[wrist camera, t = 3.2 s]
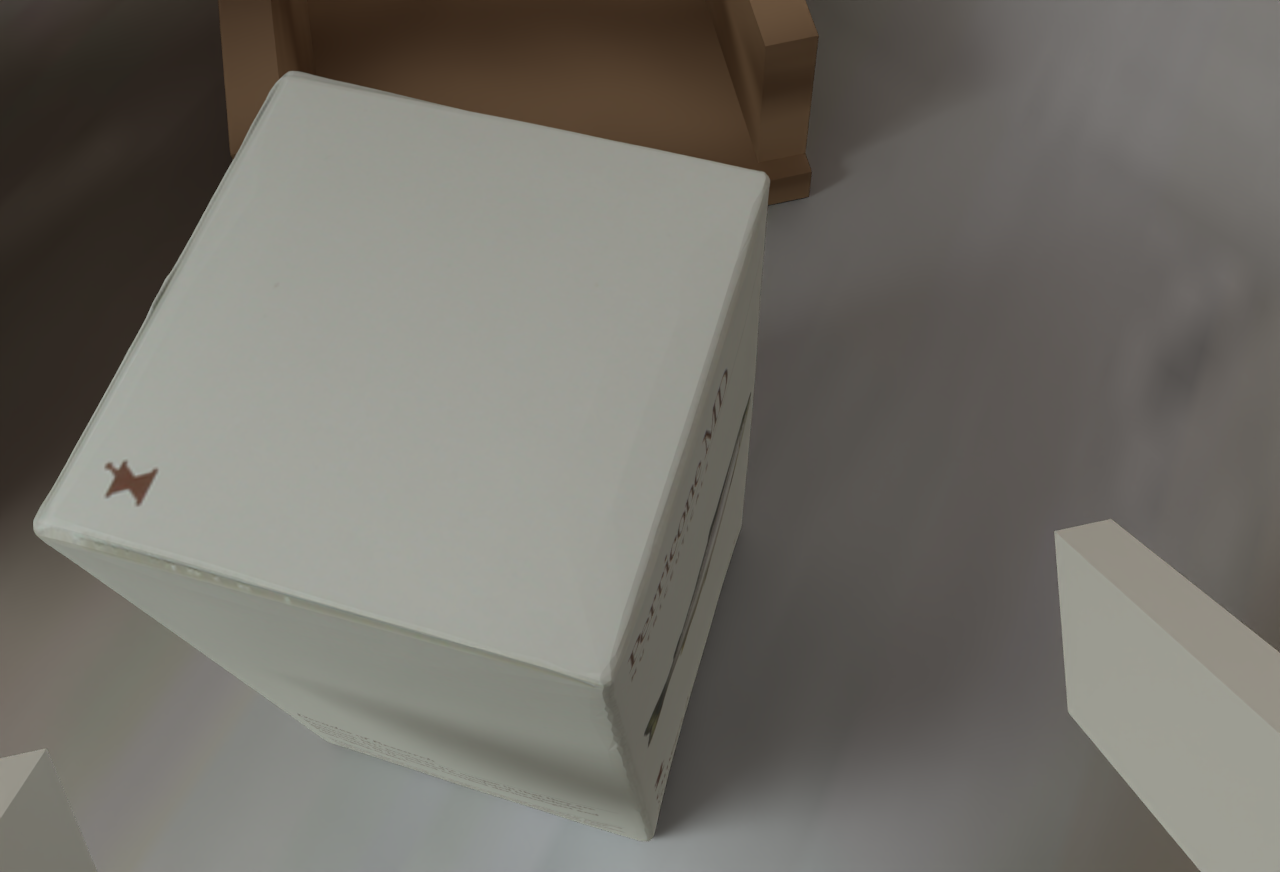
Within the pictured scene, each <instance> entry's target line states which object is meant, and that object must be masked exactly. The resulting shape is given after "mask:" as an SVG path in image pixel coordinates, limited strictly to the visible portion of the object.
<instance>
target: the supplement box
mask: <svg viewBox="0 0 1280 872" xmlns="http://www.w3.org/2000/svg"><path fill="white" fill-rule="evenodd" d="M769 187H770V178H769V177H768V175H767V174H766V173H765V172H762V171H757V170H752V169H746V168H742V167H737V166H732V165H728V164H723V163H719V162H714V161H710V160H705V159H700V158H695V157H691V156H686V155H681V154H676V153H672V152H667V151H662V150H658V149H653V148H648V147H643V146H638V145H633V144H628V143H623V142H618V141H613V140H608V139H604V138H599V137H594V136H590V135H585V134H580V133H576V132H571V131H566V130H561V129H556V128H551V127H547V126H542V125H537V124H532V123H527V122H522V121H517V120H512V119H507V118H502V117H497V116H491V115H486V114H481V113H476V112H471V111H466V110H462V109H458V108H453V107H449V106H445V105H441V104H436V103H432V102H428V101H424V100H420V99H415V98H411V97H407V96H403V95H399V94H394V93H390V92H386V91H381V90H377V89H373V88H368V87H364V86H360V85H355V84H350V83H346V82H341V81H337V80H332V79H328V78H324V77H320V76H316V75H312V74H308V73H304V72H300V71H289V72H287V73H286V74H284V75H283V76H282V77H281V78H280V79H279V80H278V81H277V82H276V83H275V84H274V86H273V87H272V89H271V90H270V92H269V94H268V96H267V98H266V100H265V102H264V104H263V105H262V107H261V109H260V111H259V112H258V114H257V116H256V118H255V119H254V121H253V123H252V125H251V127H250V129H249V131H248V133H247V135H246V137H245V139H244V141H243V143H242V145H241V147H240V149H239V151H238V152H237V154H236V156H235V158H234V159H233V161H232V163H231V165H230V166H229V168H228V170H227V172H226V173H225V175H224V177H223V179H222V181H221V182H220V184H219V186H218V188H217V190H216V191H215V193H214V195H213V197H212V199H211V201H210V202H209V204H208V206H207V208H206V210H205V212H204V213H203V215H202V217H201V219H200V221H199V223H198V225H197V226H196V228H195V230H194V232H193V234H192V236H191V237H190V239H189V241H188V243H187V245H186V246H185V248H184V250H183V252H182V254H181V255H180V257H179V259H178V261H177V262H176V264H175V266H174V268H173V269H172V271H171V272H170V274H169V275H168V276H167V278H166V279H165V281H164V283H163V285H162V287H161V289H160V290H159V292H158V294H157V296H156V298H155V299H154V301H153V303H152V306H151V308H150V310H149V312H148V315H147V317H146V319H145V321H144V323H143V325H142V326H141V328H140V330H139V332H138V334H137V336H136V338H135V339H134V341H133V343H132V345H131V346H130V348H129V350H128V352H127V353H126V355H125V357H124V359H123V361H122V363H121V365H120V367H119V369H118V370H117V372H116V374H115V376H114V378H113V380H112V381H111V383H110V385H109V387H108V389H107V391H106V392H105V394H104V396H103V398H102V400H101V401H100V403H99V405H98V407H97V409H96V410H95V412H94V414H93V416H92V418H91V419H90V421H89V423H88V425H87V426H86V428H85V430H84V432H83V434H82V435H81V437H80V439H79V441H78V442H77V444H76V446H75V448H74V450H73V452H72V453H71V455H70V457H69V459H68V461H67V463H66V465H65V466H64V468H63V470H62V472H61V474H60V475H59V477H58V479H57V481H56V482H55V484H54V486H53V488H52V489H51V491H50V492H49V494H48V496H47V497H46V499H45V500H44V502H43V503H42V505H41V506H40V508H39V510H38V512H37V514H36V516H35V518H34V520H33V529H34V532H35V534H36V535H37V536H38V537H39V538H40V539H41V540H43V541H44V542H45V543H46V544H48V545H49V546H51V547H52V548H54V549H55V550H57V551H58V552H60V553H61V554H63V555H64V556H65V557H67V558H68V559H70V560H71V561H73V562H74V563H76V564H77V565H79V566H80V567H81V568H83V569H84V570H86V571H87V572H89V573H90V574H91V575H93V576H94V577H96V578H97V579H98V580H100V581H101V582H103V583H104V584H105V585H107V586H108V587H110V588H111V589H113V590H114V591H115V592H117V593H118V594H120V595H121V596H123V597H124V598H125V599H127V600H128V601H130V602H131V603H132V604H134V605H135V606H137V607H138V608H139V609H141V610H142V611H144V612H145V613H146V614H148V615H149V616H151V617H152V618H154V619H155V620H156V621H158V622H159V623H161V624H162V625H163V626H165V627H166V628H168V629H169V630H171V631H172V632H173V633H175V634H176V635H178V636H179V637H180V638H182V639H183V640H185V641H186V642H188V643H189V644H190V645H192V646H193V647H195V648H196V649H197V650H199V651H200V652H202V653H203V654H204V655H206V656H207V657H209V658H210V659H211V660H213V661H214V662H216V663H217V664H218V665H220V666H221V667H223V668H224V669H226V670H227V671H228V672H230V673H231V674H233V675H234V676H236V677H237V678H238V679H240V680H241V681H243V682H244V683H245V684H247V685H248V686H250V687H251V688H253V689H254V690H255V691H257V692H258V693H260V694H261V695H263V696H264V697H265V698H267V699H268V700H269V701H271V702H272V703H274V704H275V705H276V706H278V707H279V708H281V709H282V710H283V711H285V712H287V713H288V714H289V715H291V716H292V717H293V718H295V719H296V720H298V721H299V722H300V723H302V724H303V725H305V726H306V727H307V728H309V729H310V730H311V731H313V732H314V733H316V734H317V735H318V736H320V737H321V738H323V739H324V740H326V741H328V742H330V743H333V744H336V745H339V746H342V747H345V748H348V749H351V750H355V751H358V752H361V753H364V754H367V755H370V756H373V757H376V758H380V759H383V760H386V761H389V762H392V763H395V764H398V765H401V766H404V767H407V768H410V769H413V770H416V771H419V772H422V773H425V774H428V775H431V776H435V777H438V778H441V779H444V780H447V781H450V782H453V783H456V784H459V785H462V786H465V787H468V788H471V789H474V790H477V791H480V792H484V793H487V794H490V795H493V796H497V797H500V798H503V799H506V800H509V801H513V802H516V803H519V804H522V805H526V806H529V807H532V808H535V809H539V810H542V811H545V812H548V813H551V814H554V815H557V816H560V817H563V818H567V819H570V820H573V821H576V822H579V823H582V824H585V825H589V826H592V827H595V828H598V829H602V830H605V831H608V832H611V833H615V834H618V835H622V836H625V837H629V838H632V839H635V840H639V841H650V840H651V839H652V838H653V837H654V834H655V830H656V825H657V821H658V817H659V812H660V808H661V804H662V799H663V795H664V791H665V787H666V783H667V779H668V775H669V771H670V767H671V763H672V759H673V756H674V752H675V749H676V745H677V741H678V738H679V734H680V731H681V727H682V723H683V720H684V716H685V712H686V709H687V706H688V702H689V699H690V695H691V692H692V688H693V685H694V681H695V678H696V675H697V671H698V668H699V664H700V661H701V658H702V654H703V651H704V647H705V644H706V641H707V637H708V634H709V630H710V627H711V623H712V620H713V616H714V613H715V609H716V606H717V602H718V599H719V595H720V592H721V588H722V585H723V582H724V579H725V576H726V572H727V569H728V566H729V563H730V560H731V557H732V554H733V551H734V548H735V545H736V542H737V539H738V536H739V533H740V530H741V527H742V519H743V505H744V496H745V486H746V474H747V466H748V454H749V443H750V431H751V421H752V410H753V398H754V386H755V375H756V359H757V343H758V327H759V310H760V295H761V284H762V270H763V259H764V248H765V232H766V219H767V207H768V196H769Z"/></svg>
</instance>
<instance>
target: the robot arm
mask: <svg viewBox="0 0 1280 872" xmlns="http://www.w3.org/2000/svg"><path fill="white" fill-rule="evenodd" d="M1054 535H1055V548H1056V561H1057V574H1058V587H1059V601H1060V614H1061V627H1062V640H1063V653H1064V666H1065V680H1066V693H1067V706H1068V713H1069V714H1070V715H1071V716H1072V717H1073V719H1074V720H1075V721H1076V722H1077V723H1078V725H1079V726H1080V727H1081V728H1082V729H1083V731H1084V732H1085V733H1086V734H1087V736H1088V737H1089V738H1090V739H1091V740H1092V742H1093V743H1094V744H1095V745H1096V746H1097V748H1098V749H1099V750H1100V751H1101V752H1102V754H1103V755H1104V756H1105V757H1106V758H1107V760H1108V761H1109V762H1110V763H1111V764H1112V766H1113V767H1114V768H1115V769H1116V770H1117V772H1118V773H1119V774H1120V775H1121V776H1122V778H1123V779H1124V780H1125V781H1126V782H1127V784H1128V785H1129V786H1130V787H1131V788H1132V790H1133V791H1134V792H1135V793H1136V794H1137V796H1138V797H1139V798H1140V799H1141V800H1142V802H1143V803H1144V804H1145V805H1146V806H1147V808H1148V809H1149V810H1150V811H1151V812H1152V814H1153V815H1154V816H1155V817H1156V818H1157V820H1158V821H1159V822H1160V823H1161V824H1162V826H1163V827H1164V828H1165V829H1166V830H1167V832H1168V833H1169V834H1170V835H1171V836H1172V838H1173V839H1174V840H1175V841H1176V842H1177V844H1178V845H1179V846H1180V847H1181V848H1182V850H1183V851H1184V852H1185V853H1186V855H1187V856H1188V857H1189V858H1190V859H1191V861H1192V862H1193V863H1194V864H1195V865H1196V867H1197V868H1198V869H1199V870H1200V871H1201V872H1280V653H1279V652H1278V651H1277V650H1276V649H1274V648H1273V647H1272V646H1271V645H1269V644H1268V643H1267V642H1266V641H1264V640H1263V639H1262V638H1261V637H1259V636H1258V635H1257V634H1256V633H1254V632H1253V631H1252V630H1250V629H1249V628H1248V627H1247V626H1245V625H1244V624H1243V623H1242V622H1240V621H1239V620H1238V619H1237V618H1235V617H1234V616H1233V615H1232V614H1230V613H1229V612H1228V611H1227V610H1225V609H1224V608H1223V607H1221V606H1220V605H1219V604H1218V603H1216V602H1215V601H1214V600H1213V599H1211V598H1210V597H1209V596H1208V595H1206V594H1205V593H1204V592H1203V591H1201V590H1200V589H1199V588H1198V587H1196V586H1195V585H1194V584H1192V583H1191V582H1190V581H1189V580H1187V579H1186V578H1185V577H1184V576H1182V575H1181V574H1180V573H1179V572H1177V571H1176V570H1175V569H1174V568H1172V567H1171V566H1170V565H1169V564H1167V563H1166V562H1165V561H1164V560H1162V559H1161V558H1160V557H1158V556H1157V555H1156V554H1155V553H1153V552H1152V551H1151V550H1150V549H1148V548H1147V547H1146V546H1145V545H1143V544H1142V543H1141V542H1140V541H1138V540H1137V539H1136V538H1135V537H1133V536H1132V535H1131V534H1129V533H1128V532H1127V531H1126V530H1124V529H1123V528H1122V527H1121V526H1119V525H1118V524H1117V523H1116V522H1114V521H1113V520H1112V519H1108V520H1103V521H1099V522H1094V523H1089V524H1085V525H1080V526H1076V527H1071V528H1066V529H1062V530H1057V531H1054ZM0 872H97V870H96V867H95V865H94V863H93V860H92V858H91V855H90V853H89V850H88V848H87V845H86V843H85V841H84V838H83V836H82V833H81V831H80V828H79V826H78V823H77V821H76V819H75V816H74V814H73V811H72V809H71V806H70V804H69V801H68V799H67V797H66V794H65V792H64V789H63V787H62V784H61V782H60V779H59V777H58V774H57V772H56V770H55V767H54V765H53V762H52V760H51V757H50V755H49V752H48V750H47V748H46V749H41V750H36V751H32V752H27V753H22V754H18V755H13V756H9V757H4V758H0Z"/></svg>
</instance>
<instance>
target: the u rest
mask: <svg viewBox="0 0 1280 872" xmlns="http://www.w3.org/2000/svg"><path fill="white" fill-rule="evenodd" d="M218 7H219V19H220V32H221V44H222V57H223V69H224V82H225V94H226V107H227V119H228V132H229V144H230V155H231V157H232V159H234V158H235V156H236V154H237V152H238V151H239V149H240V147H241V145H242V143H243V141H244V139H245V137H246V135H247V133H248V131H249V129H250V127H251V125H252V123H253V121H254V119H255V118H256V116H257V114H258V112H259V111H260V109H261V107H262V105H263V104H264V102H265V100H266V98H267V96H268V94H269V92H270V90H271V89H272V87H273V86H274V84H275V83H276V82H277V81H278V80H279V79H280V78H281V77H282V76H283V75H284V74H286V73H287V72H289V71H300V72H304V73H308V74H312V75H316V76H320V77H324V78H328V79H332V80H337V81H341V82H346V83H350V84H355V85H360V86H364V87H368V88H373V89H377V90H381V91H386V92H390V93H394V94H399V95H403V96H407V97H411V98H415V99H420V100H424V101H428V102H432V103H436V104H441V105H445V106H449V107H453V108H458V109H462V110H466V111H471V112H476V113H481V114H486V115H491V116H497V117H502V118H507V119H512V120H517V121H522V122H527V123H532V124H537V125H542V126H547V127H551V128H556V129H561V130H566V131H571V132H576V133H580V134H585V135H590V136H594V137H599V138H604V139H608V140H613V141H618V142H623V143H628V144H633V145H638V146H643V147H648V148H653V149H658V150H662V151H667V152H672V153H676V154H681V155H686V156H691V157H695V158H700V159H705V160H710V161H714V162H719V163H723V164H728V165H732V166H737V167H742V168H746V169H752V170H757V171H762V172H765V173H766V174H767V175H768V177H769V178H770V187H769V196H768V205H771V204H776V203H781V202H786V201H791V200H795V199H800V198H805V197H809V191H810V183H811V174H812V171H811V168H810V165H809V162H808V160H807V157H806V154H805V151H806V142H807V133H808V125H809V116H810V107H811V98H812V89H813V81H814V72H815V63H816V54H817V45H818V37H819V35H818V32H817V30H816V27H815V25H814V22H813V19H812V17H811V14H810V11H809V9H808V6H807V3H806V1H805V0H218Z"/></svg>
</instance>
